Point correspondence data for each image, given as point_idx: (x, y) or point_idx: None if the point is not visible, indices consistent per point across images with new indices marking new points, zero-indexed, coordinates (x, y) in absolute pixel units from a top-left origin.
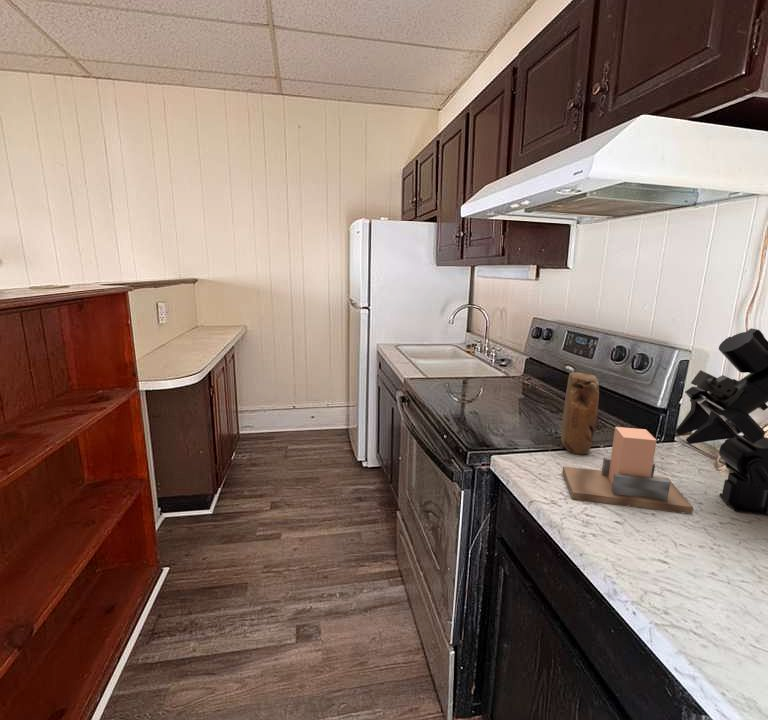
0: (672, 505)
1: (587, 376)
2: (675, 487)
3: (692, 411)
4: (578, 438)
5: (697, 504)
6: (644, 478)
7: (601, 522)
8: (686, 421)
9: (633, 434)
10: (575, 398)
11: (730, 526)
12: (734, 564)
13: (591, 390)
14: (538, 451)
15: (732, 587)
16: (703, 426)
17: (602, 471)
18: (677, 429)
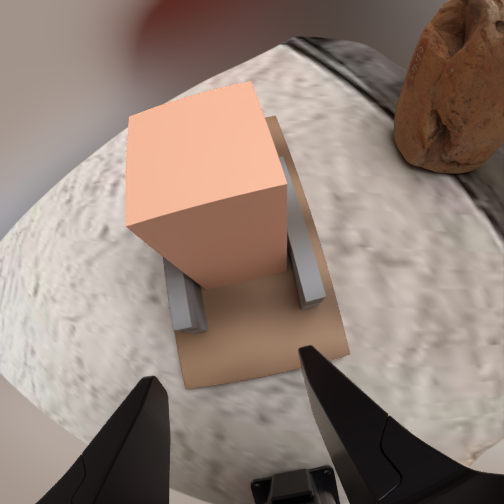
0: (177, 342)
1: None
2: (290, 368)
3: (417, 491)
4: (405, 116)
5: (252, 411)
6: None
7: (98, 207)
8: (330, 422)
9: (173, 137)
10: (442, 19)
11: (174, 448)
12: (58, 394)
13: (478, 18)
14: (356, 88)
15: (20, 364)
16: (87, 479)
17: None
18: (303, 355)
